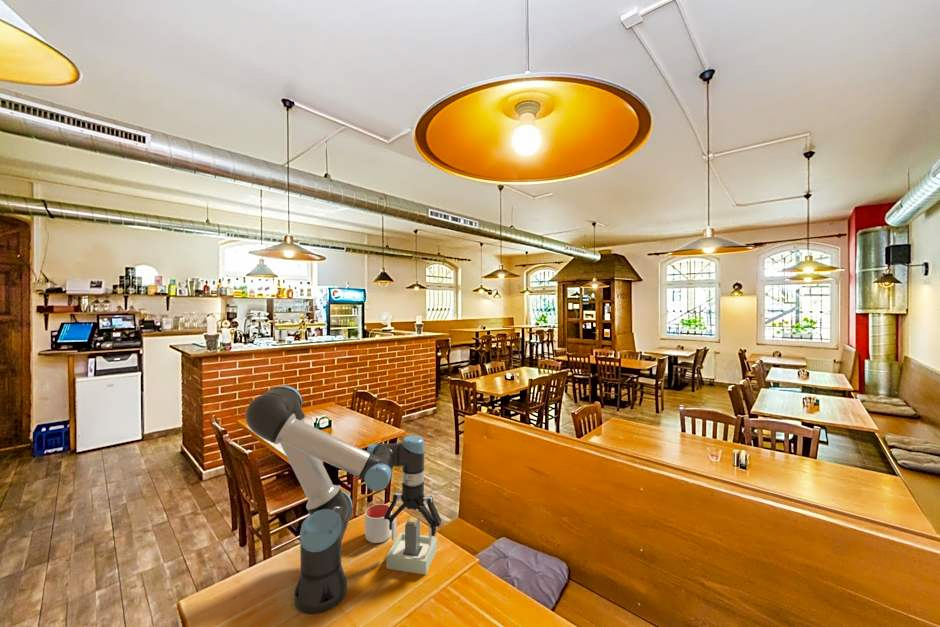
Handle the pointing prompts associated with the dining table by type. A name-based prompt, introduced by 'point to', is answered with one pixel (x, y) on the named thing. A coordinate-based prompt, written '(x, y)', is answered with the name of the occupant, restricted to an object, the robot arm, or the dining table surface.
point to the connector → (412, 537)
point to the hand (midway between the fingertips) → (412, 541)
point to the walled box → (411, 563)
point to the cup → (377, 524)
